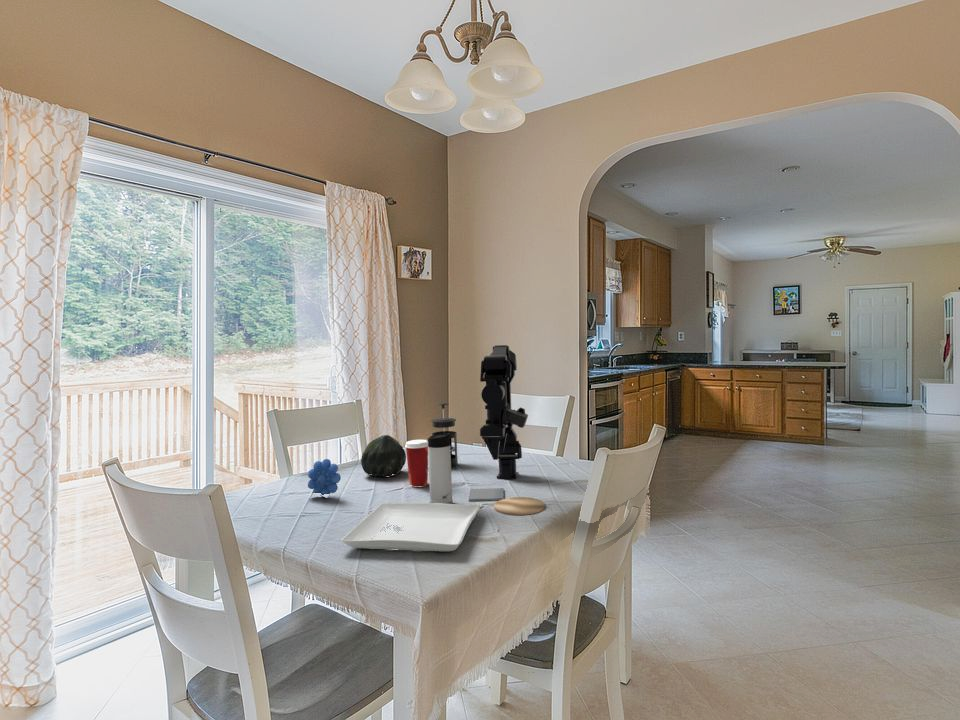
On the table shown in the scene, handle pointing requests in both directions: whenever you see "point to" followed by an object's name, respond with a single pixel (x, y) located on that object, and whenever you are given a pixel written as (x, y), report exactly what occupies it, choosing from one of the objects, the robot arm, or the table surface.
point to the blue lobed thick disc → (324, 477)
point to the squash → (383, 457)
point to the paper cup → (417, 462)
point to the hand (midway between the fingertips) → (498, 455)
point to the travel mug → (440, 469)
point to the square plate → (413, 527)
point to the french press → (444, 424)
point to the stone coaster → (486, 494)
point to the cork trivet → (519, 506)
